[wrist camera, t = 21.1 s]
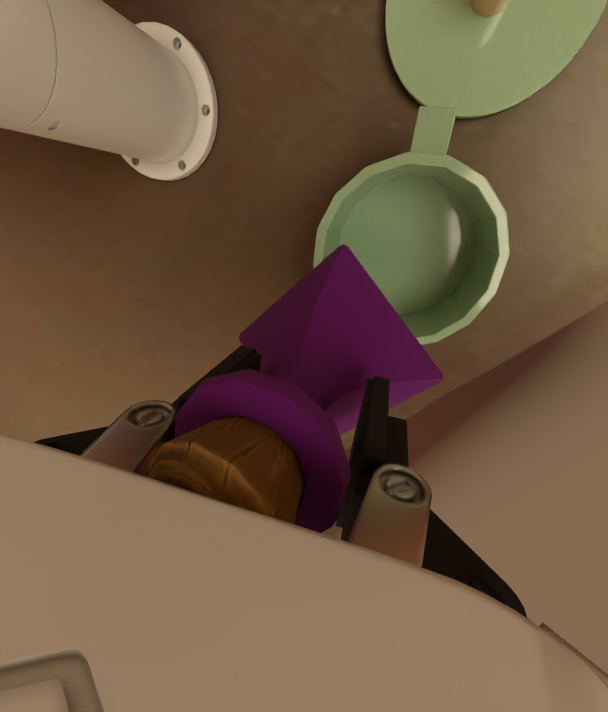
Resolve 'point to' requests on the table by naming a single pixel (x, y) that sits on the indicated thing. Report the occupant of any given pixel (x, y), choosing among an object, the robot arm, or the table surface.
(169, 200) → the table surface
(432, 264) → the pot
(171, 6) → the table surface
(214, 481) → the purple potion bottle
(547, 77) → the lid
